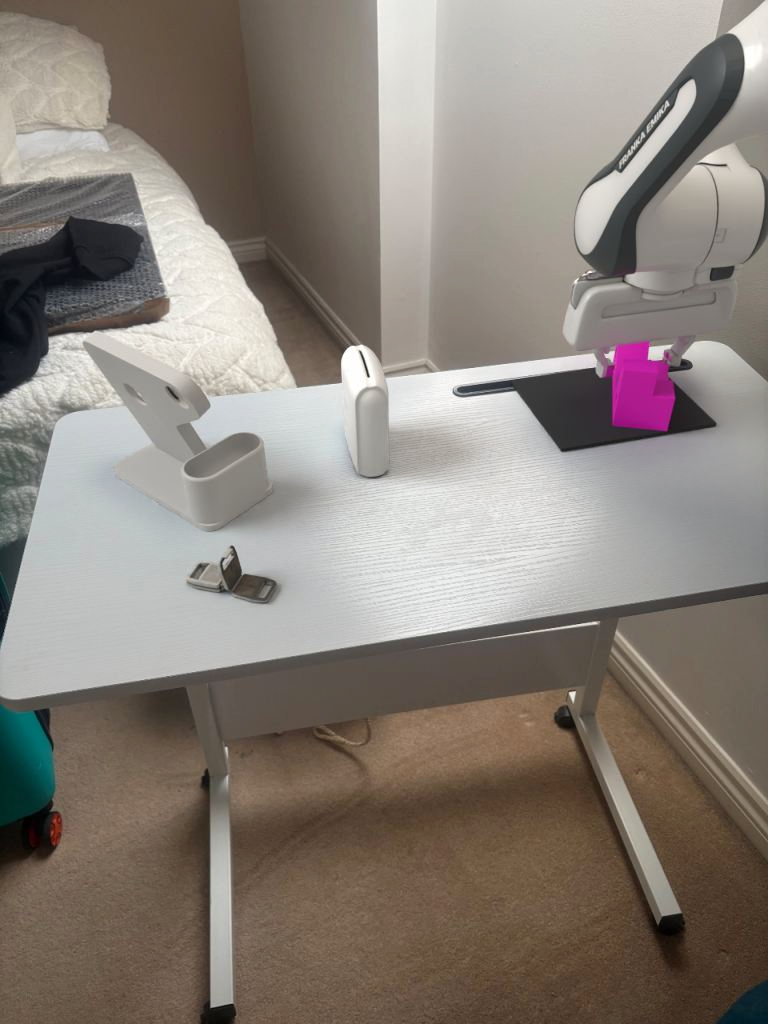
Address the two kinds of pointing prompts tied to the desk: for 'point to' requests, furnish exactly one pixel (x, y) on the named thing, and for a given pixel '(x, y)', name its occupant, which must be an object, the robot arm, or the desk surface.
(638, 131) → the robot arm
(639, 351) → the toy block
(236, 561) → the strap clip
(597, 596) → the desk surface
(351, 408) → the photo printer
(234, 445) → the phone holder
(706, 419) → the mat
